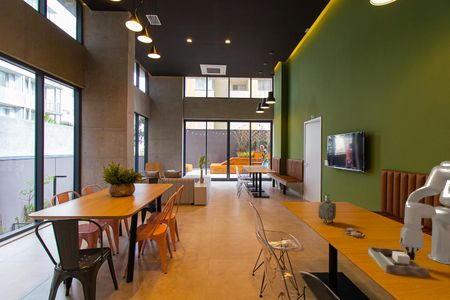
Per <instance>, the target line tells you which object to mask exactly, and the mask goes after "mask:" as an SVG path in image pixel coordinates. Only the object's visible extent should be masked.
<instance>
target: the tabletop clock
mask: <svg viewBox="0 0 450 300" xmlns="http://www.w3.org/2000/svg"><path fill="white" fill-rule="evenodd" d="M330 198H331V195H330V194H326V195H325V200H324V201H323V202H320V203H319V204H318V212H317V213H318V218H319V219H321V220H323V223H325V225H326V226H328V224H329V223H328V222H331V223H334V220H335V219H336V215H337V214H336V212H337V205H336V203H334V202H331V200H330Z"/></svg>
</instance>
